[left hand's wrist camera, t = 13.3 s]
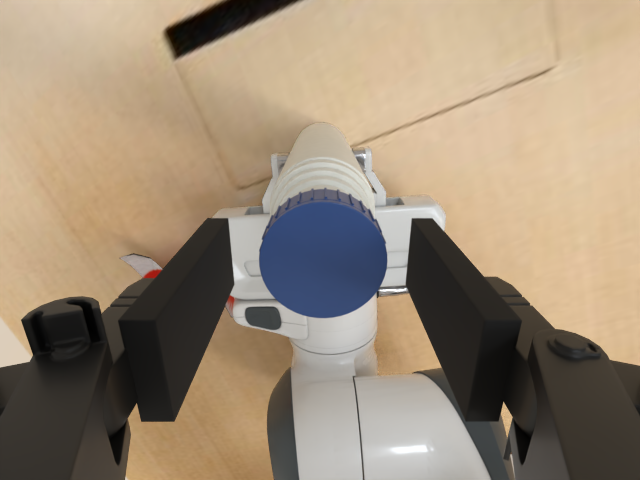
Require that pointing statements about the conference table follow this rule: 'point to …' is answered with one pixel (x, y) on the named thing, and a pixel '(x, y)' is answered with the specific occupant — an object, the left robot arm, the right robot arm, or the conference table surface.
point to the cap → (323, 254)
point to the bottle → (321, 167)
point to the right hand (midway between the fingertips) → (320, 150)
